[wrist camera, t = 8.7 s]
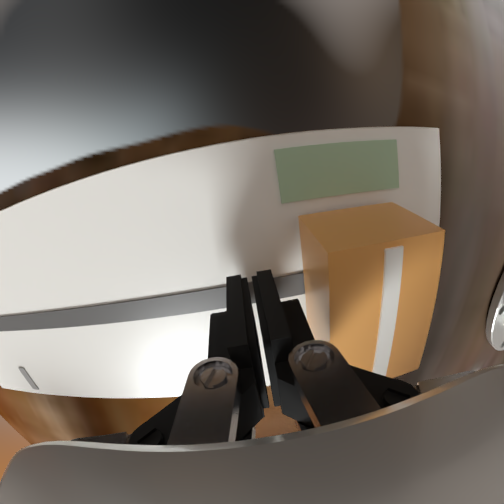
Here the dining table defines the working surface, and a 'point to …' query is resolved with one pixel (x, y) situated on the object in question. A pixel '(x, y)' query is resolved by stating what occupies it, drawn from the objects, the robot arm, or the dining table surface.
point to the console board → (180, 251)
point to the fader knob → (372, 283)
